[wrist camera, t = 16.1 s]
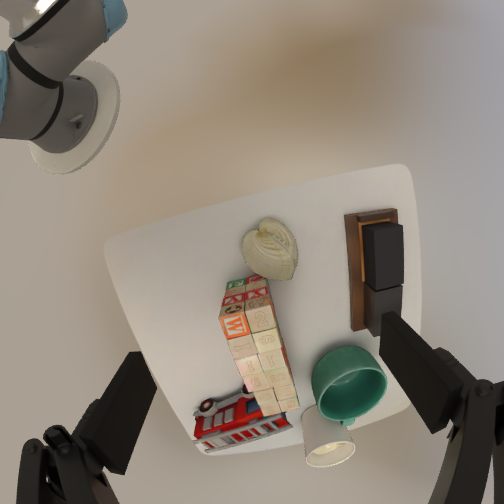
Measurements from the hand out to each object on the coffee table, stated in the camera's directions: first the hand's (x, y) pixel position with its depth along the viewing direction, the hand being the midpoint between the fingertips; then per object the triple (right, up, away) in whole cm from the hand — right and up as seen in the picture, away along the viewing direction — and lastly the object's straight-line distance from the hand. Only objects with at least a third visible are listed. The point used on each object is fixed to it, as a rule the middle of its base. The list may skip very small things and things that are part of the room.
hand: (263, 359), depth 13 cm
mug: (+16, -18, +34) cm, 42 cm away
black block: (+19, +6, +27) cm, 33 cm away
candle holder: (+14, -30, +37) cm, 50 cm away
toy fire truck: (-3, -25, +36) cm, 44 cm away
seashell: (+2, +6, +28) cm, 29 cm away
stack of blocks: (+1, -8, +32) cm, 33 cm away
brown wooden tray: (+20, +2, +29) cm, 35 cm away
